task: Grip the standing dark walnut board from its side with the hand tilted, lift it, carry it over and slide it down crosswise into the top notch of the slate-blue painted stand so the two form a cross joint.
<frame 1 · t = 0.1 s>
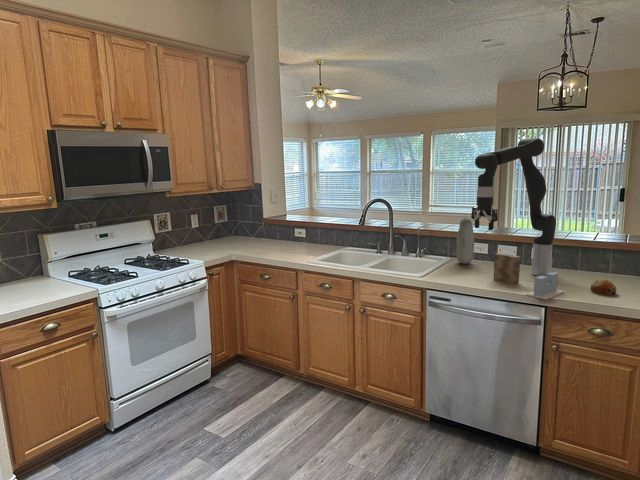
hand: (483, 229, 209), 29 cm above the countertop, tool pointing down, fingers open, 8 cm apart
bread roll: (603, 293, 201), on the countertop
grey bottle: (464, 263, 263), on the countertop
notched stand: (545, 293, 200), on the countertop
walnut board: (505, 281, 222), on the countertop
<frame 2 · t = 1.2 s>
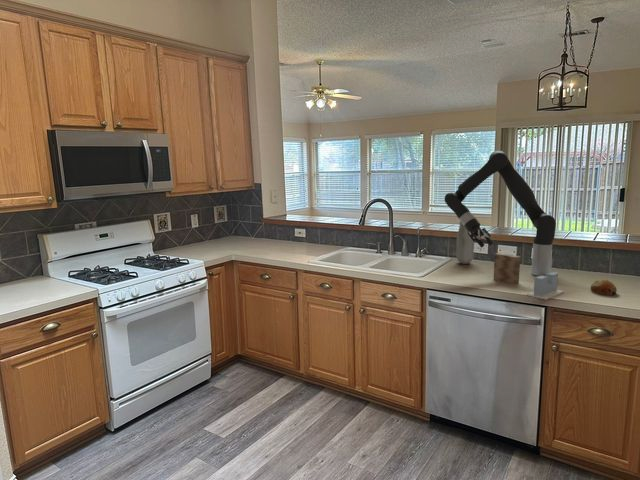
hand: (487, 245, 228), 17 cm above the countertop, tool tilted 45°, fingers open, 8 cm apart
nothing on the countertop moved.
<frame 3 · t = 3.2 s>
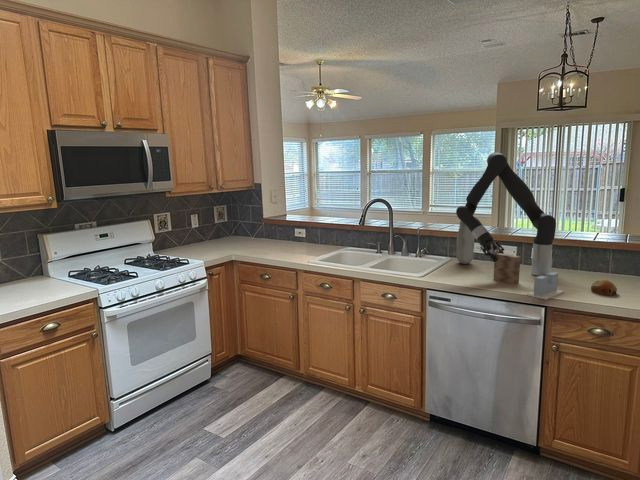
hand: (500, 259, 223), 11 cm above the countertop, tool tilted 45°, fingers open, 8 cm apart
nothing on the countertop moved.
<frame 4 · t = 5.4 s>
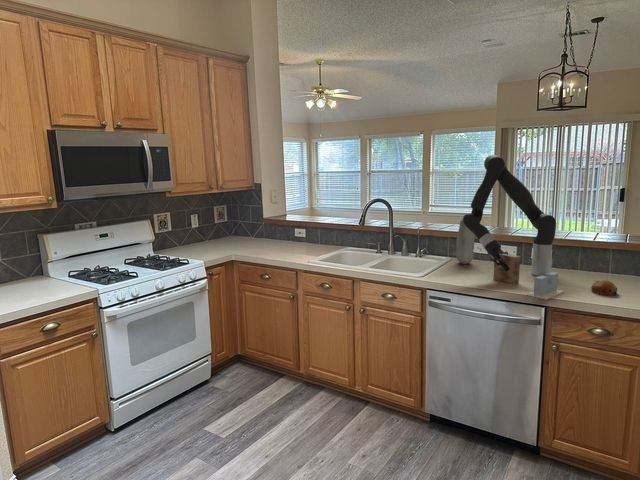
hand: (510, 269, 220), 7 cm above the countertop, tool tilted 45°, fingers closed on walnut board, 3 cm apart
walnut board: (505, 281, 222), on the countertop, touching gripper
everything else where it was.
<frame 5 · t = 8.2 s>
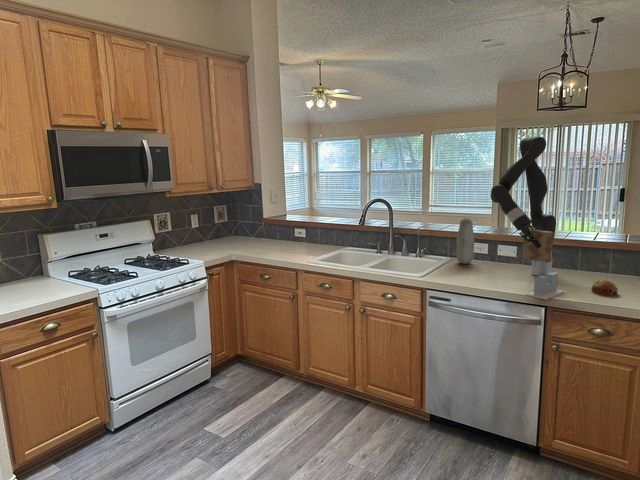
hand: (541, 246, 200), 22 cm above the countertop, tool tilted 45°, fingers closed on walnut board, 3 cm apart
walnut board: (536, 259, 203), point 15 cm above the countertop, touching gripper
everything else where it was.
when the fingers open (13 cm above the countertop, at t = 11.1 s): walnut board drops 1 cm, resting on notched stand.
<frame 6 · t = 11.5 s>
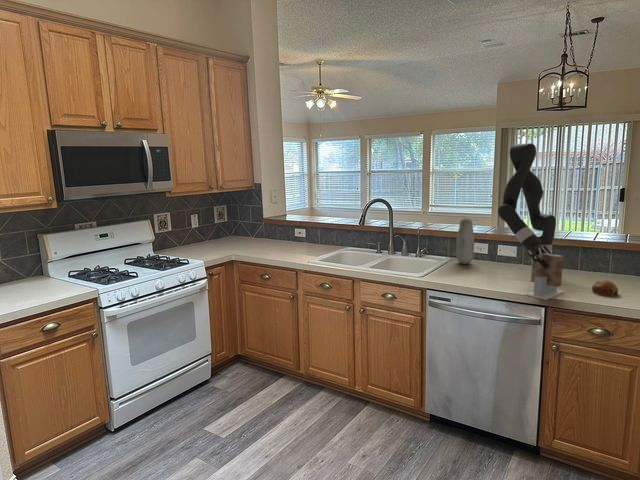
hand: (550, 266, 197), 13 cm above the countertop, tool tilted 45°, fingers open, 7 cm apart
walnut board: (545, 283, 200), point 5 cm above the countertop, touching notched stand
everything else where it was.
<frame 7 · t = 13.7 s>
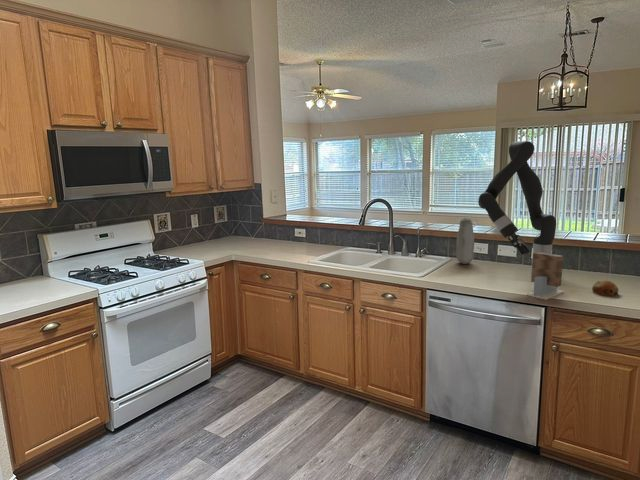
hand: (526, 253, 207), 17 cm above the countertop, tool tilted 40°, fingers open, 8 cm apart
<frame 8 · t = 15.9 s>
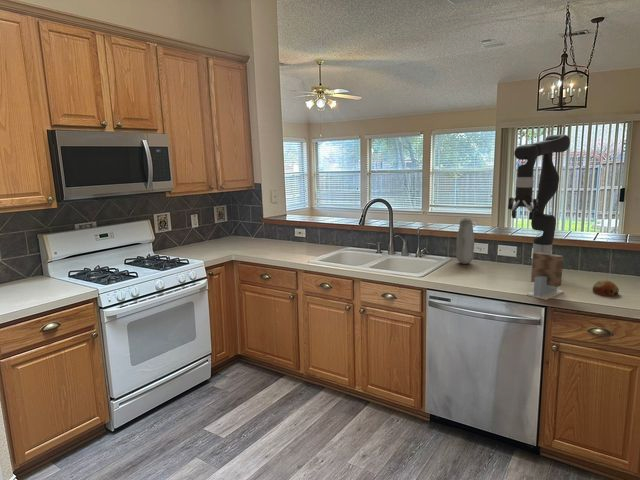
hand: (522, 218, 213), 33 cm above the countertop, tool pointing down, fingers open, 8 cm apart
at the end: walnut board 0.1 cm off-centre on the notched stand, point 5.0 cm above the notched stand's base; walnut board tilted 0°; the gripper is holding nothing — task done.
